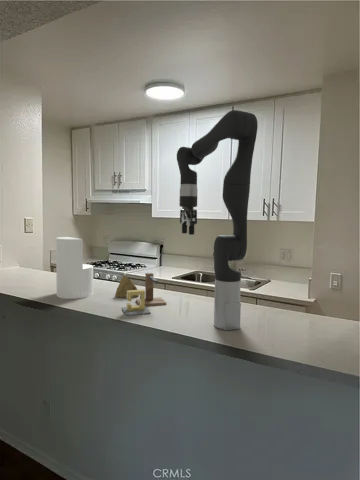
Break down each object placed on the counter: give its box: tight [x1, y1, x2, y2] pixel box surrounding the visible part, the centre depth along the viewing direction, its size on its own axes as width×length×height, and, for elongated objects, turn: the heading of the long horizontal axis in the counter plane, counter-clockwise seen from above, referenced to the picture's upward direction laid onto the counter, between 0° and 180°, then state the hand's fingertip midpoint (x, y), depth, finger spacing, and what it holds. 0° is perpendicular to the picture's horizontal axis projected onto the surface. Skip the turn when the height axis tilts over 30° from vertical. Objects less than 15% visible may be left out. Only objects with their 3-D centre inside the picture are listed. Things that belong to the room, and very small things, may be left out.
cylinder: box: [55, 236, 94, 300], centre depth 162 cm, size 17×17×28 cm
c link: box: [126, 289, 145, 312], centre depth 136 cm, size 3×7×8 cm, turn 109°
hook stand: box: [135, 272, 167, 307], centre depth 146 cm, size 14×12×13 cm
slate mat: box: [121, 306, 152, 317], centre depth 136 cm, size 10×10×1 cm
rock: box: [114, 275, 140, 298], centre depth 160 cm, size 11×9×10 cm
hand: (187, 233), depth 140 cm, fingers open, 8 cm apart
